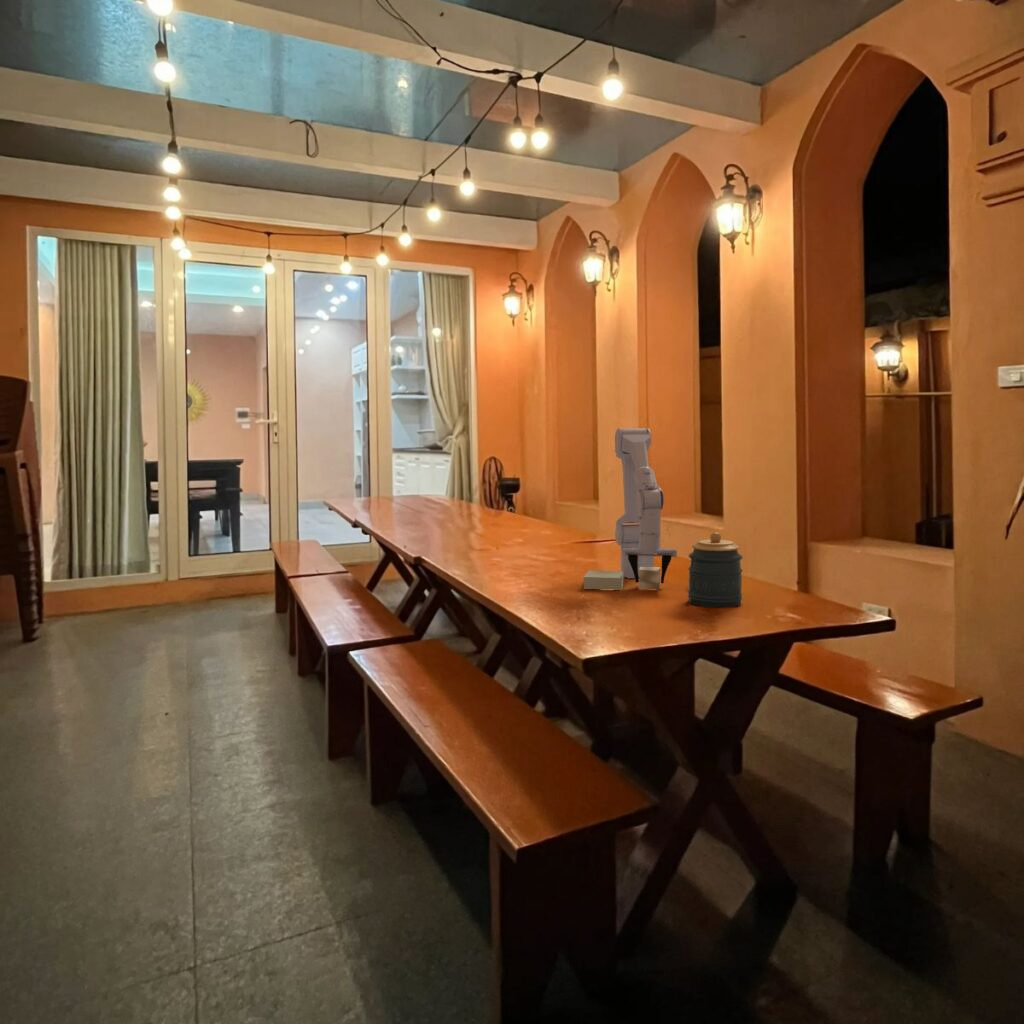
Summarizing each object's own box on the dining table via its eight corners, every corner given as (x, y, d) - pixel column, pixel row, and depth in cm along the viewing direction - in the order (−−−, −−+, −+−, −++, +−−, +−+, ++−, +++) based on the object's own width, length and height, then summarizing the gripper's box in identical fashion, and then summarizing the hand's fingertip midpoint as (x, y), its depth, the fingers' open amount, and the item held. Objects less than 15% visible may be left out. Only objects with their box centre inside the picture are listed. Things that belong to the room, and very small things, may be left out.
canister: (677, 599, 186) (678, 531, 184) (720, 595, 190) (721, 528, 188) (708, 610, 173) (709, 537, 172) (753, 605, 178) (754, 533, 176)
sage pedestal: (623, 583, 207) (623, 571, 207) (620, 590, 198) (620, 578, 197) (588, 582, 210) (588, 570, 209) (583, 589, 200) (583, 576, 200)
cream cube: (660, 586, 203) (660, 567, 202) (659, 590, 197) (659, 570, 197) (640, 586, 204) (640, 566, 204) (638, 590, 199) (638, 570, 198)
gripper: (621, 534, 197) (621, 584, 198) (676, 535, 194) (676, 585, 195) (623, 531, 204) (623, 579, 205) (677, 532, 201) (676, 580, 202)
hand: (649, 582), depth 201 cm, fingers open, 6 cm apart
